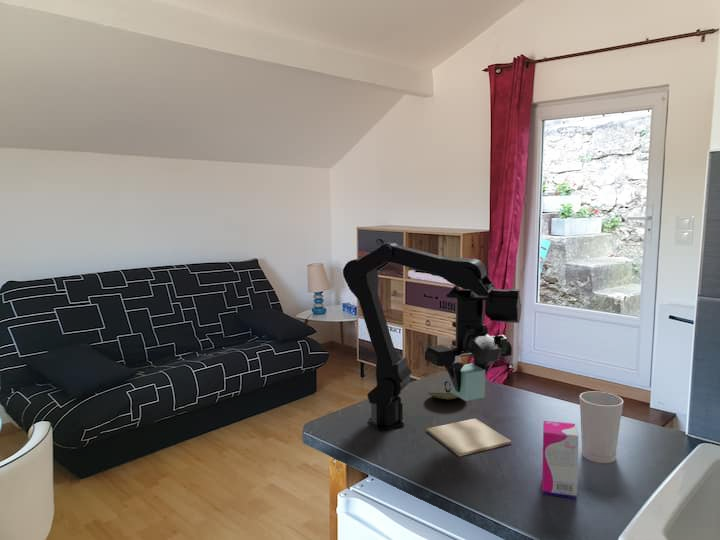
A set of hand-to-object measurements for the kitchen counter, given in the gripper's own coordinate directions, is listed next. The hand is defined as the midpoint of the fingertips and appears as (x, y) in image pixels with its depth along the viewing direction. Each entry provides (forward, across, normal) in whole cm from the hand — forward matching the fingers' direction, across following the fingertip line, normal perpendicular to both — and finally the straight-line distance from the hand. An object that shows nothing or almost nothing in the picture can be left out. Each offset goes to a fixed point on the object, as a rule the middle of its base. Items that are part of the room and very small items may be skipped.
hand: (468, 389), depth 115 cm
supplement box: (+11, +3, -24) cm, 27 cm away
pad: (+11, 0, 0) cm, 11 cm away
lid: (+11, +8, +20) cm, 24 cm away
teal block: (+1, 0, 0) cm, 1 cm away
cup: (+11, +19, -18) cm, 28 cm away
